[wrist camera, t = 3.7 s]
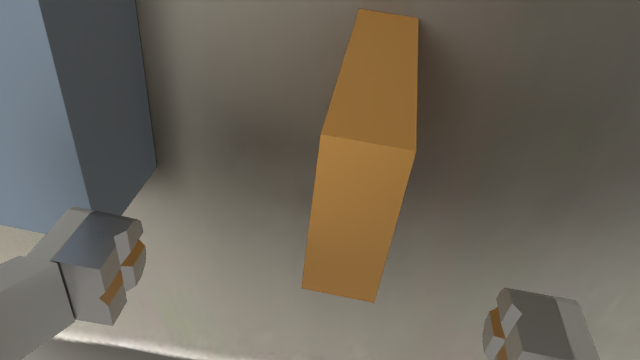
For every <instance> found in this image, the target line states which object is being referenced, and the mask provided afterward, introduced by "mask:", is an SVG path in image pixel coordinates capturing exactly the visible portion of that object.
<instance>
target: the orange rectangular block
mask: <svg viewBox="0 0 640 360" xmlns="http://www.w3.org/2000/svg"><path fill="white" fill-rule="evenodd" d="M417 77H418V18H414V17H408V16H402V15H396V14H390V13H383V12H377V11H371V10H365V9H359V11H358V14H357V18H356V21H355V24H354V27H353V31H352V34H351V37H350V40H349V44H348V47H347V50H346V53H345V57H344V60H343V63H342V66H341V70H340V73H339V76H338V79H337V83H336V86H335V89H334V92H333V96H332V99H331V102H330V105H329V109H328V112H327V115H326V118H325V122H324V125H323V128H322V131H321V135H320V143H319V151H318V159H317V167H316V175H315V183H314V191H313V200H312V208H311V216H310V224H309V232H308V240H307V248H306V256H305V264H304V272H303V280H302V288H303V289H308V290H313V291H318V292H323V293H328V294H333V295H338V296H343V297H348V298H353V299H358V300H363V301H368V302H373V303H374V302H375V298H376V295H377V291H378V287H379V284H380V280H381V277H382V273H383V269H384V266H385V262H386V259H387V255H388V251H389V248H390V244H391V241H392V237H393V234H394V230H395V226H396V223H397V219H398V216H399V212H400V208H401V205H402V201H403V198H404V194H405V190H406V187H407V183H408V180H409V176H410V172H411V169H412V165H413V162H414V158H415V154H416V141H417Z"/></svg>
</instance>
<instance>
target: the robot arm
mask: <svg viewBox="0 0 640 360" xmlns="http://www.w3.org/2000/svg"><path fill="white" fill-rule="evenodd" d="M142 233H143V228H142V223H141V221H139V220H137V219H133V218H129V217H124V216H119V215H114V214H110V213H105V212H100V211H94V210H89V209H84V208H80V207H75V206H74V207H72V208H70V209H68V210H66V212H65V213H64V214H63V215H62V216H61V217H60V218H59V220H58V221H57V222H56V223H55V224H54V225H53V226H52V228H51V229H50V230H49V231H48V232H47V233H46V234H45V236H44V237H43V238H42V239H41V240H40V241H39V243H38V244H37V245H36V246H35V247H34V248H33V249H32V251H31V252H30V253H29V254H28V255H27V256H26V257H24V256H18V257H15V258H13V259H11V260H9V261H7V262H4V263H2V264H0V360H21V359H23V358H24V357H26V356H27V355H28V354H30V353H31V352H33V351H34V350H36V349H37V348H38V347H40V346H41V345H43V344H44V343H45V342H47V341H48V340H50V339H51V338H53V337H54V336H55V335H57V334H58V333H60V332H61V331H63V330H64V329H65V328H67V327H68V326H70V325H71V324H72V323H74V322H75V320H81V321H87V322H93V323H99V324H105V325H111V326H113V325H114V323H115V321H116V320H117V318H118V316H119V315H120V313H121V311H122V309H123V308H124V306H125V304H126V303H127V299H126V293H125V292H127V291H128V290H130V289H132V288H133V287H135V286H136V285H137V283H138V281H139V280H140V278H141V276H142V273H143V270H144V267H145V263H146V248H145V245H144V244H143V243H142V242H141V241H140V240H139V238H140V236H141V235H142ZM497 304H498V308H496V309H494V310H492V311H490V312H489V314H488V316H487V318H486V320H485V324H484V329H483V349H484V354H485V355H486V356H487V357H488V359H489V360H600V359H599V356H598V353H597V351H596V348H595V345H594V343H593V340H592V337H591V334H590V332H589V329H588V326H587V324H586V321H585V318H584V315H583V313H582V310H581V307H580V305H579V304H578V302H577V301H576V300H571V299H565V298H560V297H554V296H549V295H543V294H538V293H532V292H526V291H521V290H515V289H509V288H504V289H503V290H501V291H500V293H499V295H498V297H497Z"/></svg>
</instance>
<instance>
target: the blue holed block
mask: <svg viewBox="0 0 640 360" xmlns="http://www.w3.org/2000/svg"><path fill="white" fill-rule="evenodd" d="M156 168H157V164H156V157H155V149H154V141H153V134H152V126H151V118H150V111H149V103H148V95H147V88H146V80H145V72H144V65H143V57H142V49H141V42H140V34H139V26H138V19H137V11H136V3H135V0H0V225H4V226H9V227H14V228H19V229H24V230H29V231H34V232H39V233H44V234H46V233H47V232H48V231H49V230H50V229H51V228H52V226H53V225H54V224H55V223H56V222H57V221H58V220H59V218H60V217H61V216H62V215H63V214H64V213H65V212H66V210H68V209H70V208H72V207H74V206H75V207H80V208H84V209H89V210H94V211H100V212H105V213H110V214H114V215H119V216H121V215H122V214H123V213H124V211H125V210H126V209H127V207H128V206H129V204H130V203H131V202H132V200H133V199H134V198H135V196H136V195H137V194H138V192H139V191H140V189H141V188H142V187H143V185H144V184H145V183H146V181H147V180H148V179H149V177H150V176H151V175H152V173H153V172H154V170H155V169H156Z"/></svg>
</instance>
